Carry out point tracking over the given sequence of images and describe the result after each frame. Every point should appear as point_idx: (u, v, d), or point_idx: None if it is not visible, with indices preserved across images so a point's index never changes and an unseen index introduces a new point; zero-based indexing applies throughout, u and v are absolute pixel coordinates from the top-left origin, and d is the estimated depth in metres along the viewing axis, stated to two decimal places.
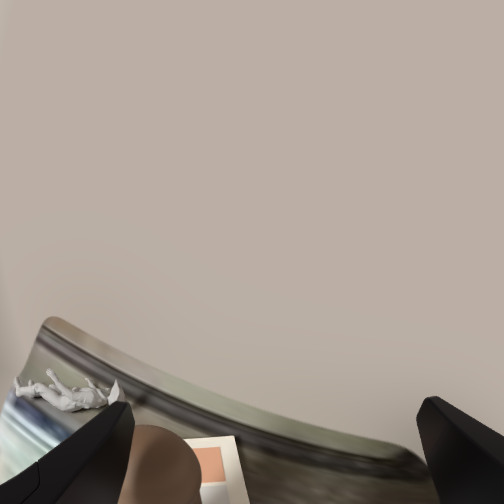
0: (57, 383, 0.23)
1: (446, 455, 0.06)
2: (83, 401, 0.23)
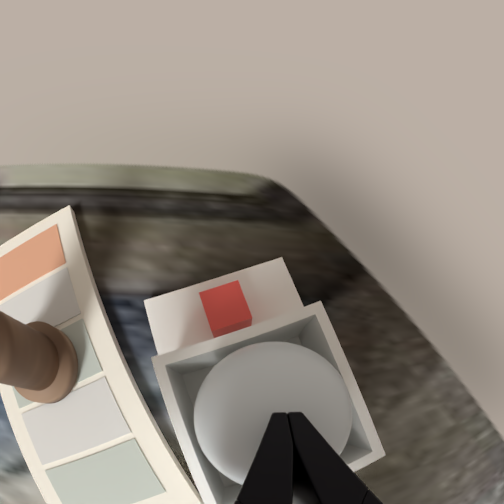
0: None
1: (295, 482, 0.06)
2: None
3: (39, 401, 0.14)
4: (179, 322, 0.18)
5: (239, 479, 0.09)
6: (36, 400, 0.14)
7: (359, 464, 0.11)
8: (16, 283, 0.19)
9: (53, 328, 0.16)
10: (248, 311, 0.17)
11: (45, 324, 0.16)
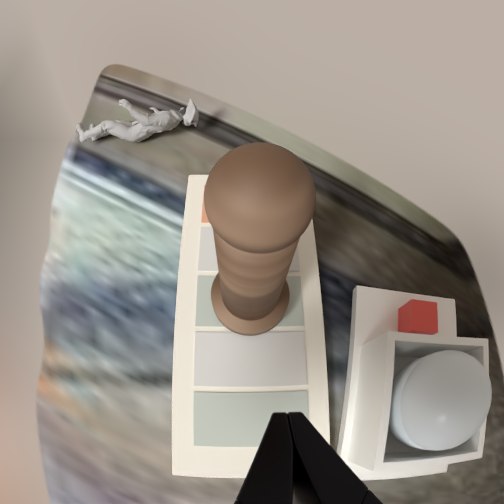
0: (132, 111, 0.25)
1: (295, 482, 0.06)
2: (158, 124, 0.27)
3: (239, 329, 0.19)
4: (378, 314, 0.22)
5: (427, 430, 0.12)
6: (236, 327, 0.19)
7: (468, 457, 0.13)
8: None
9: None
10: (437, 327, 0.19)
11: None
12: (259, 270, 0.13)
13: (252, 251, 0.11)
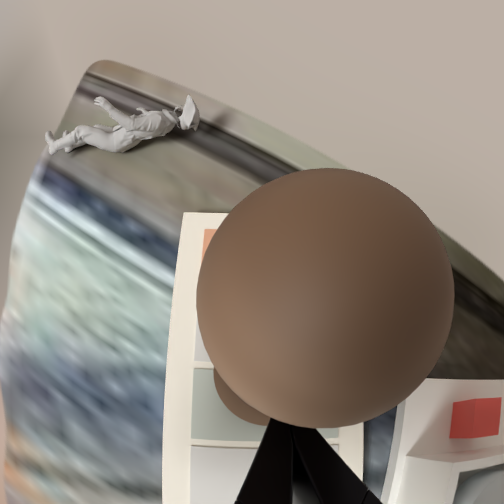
0: (111, 111, 0.18)
1: (295, 482, 0.06)
2: (147, 128, 0.20)
3: (252, 422, 0.13)
4: (430, 412, 0.14)
5: None
6: (248, 419, 0.13)
7: None
8: None
9: None
10: (498, 428, 0.11)
11: None
12: None
13: None
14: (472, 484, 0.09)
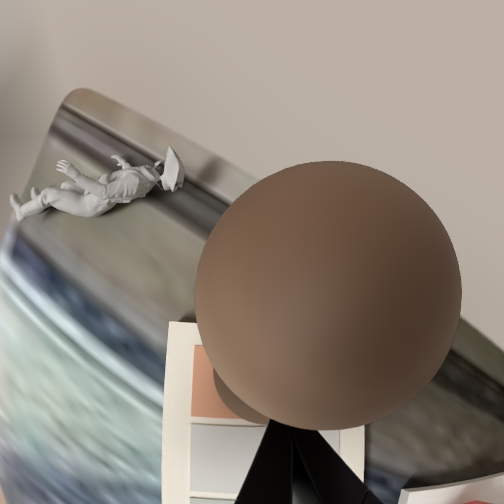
0: (78, 179, 0.15)
1: (295, 482, 0.06)
2: (123, 194, 0.17)
3: (252, 421, 0.13)
4: None
5: None
6: (248, 418, 0.13)
7: None
8: None
9: None
10: None
11: None
12: None
13: None
14: None
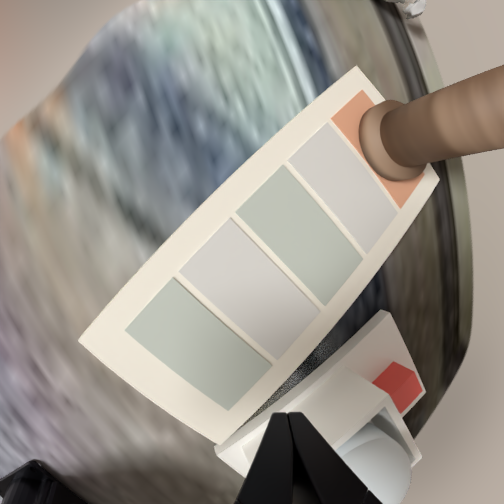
0: None
1: (295, 482, 0.06)
2: None
3: (376, 150, 0.17)
4: (379, 351, 0.19)
5: None
6: (376, 147, 0.16)
7: None
8: None
9: None
10: (404, 409, 0.18)
11: None
12: (498, 127, 0.09)
13: None
14: (372, 428, 0.15)
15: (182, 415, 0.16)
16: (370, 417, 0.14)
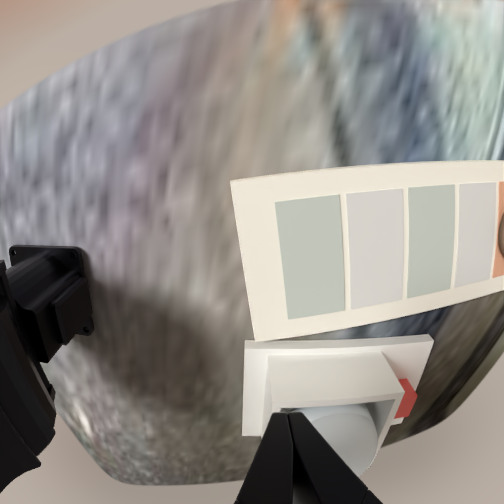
0: None
1: (295, 482, 0.06)
2: None
3: None
4: (406, 362, 0.21)
5: None
6: None
7: None
8: None
9: None
10: None
11: None
12: None
13: None
14: (368, 411, 0.18)
15: (254, 297, 0.19)
16: (382, 399, 0.16)
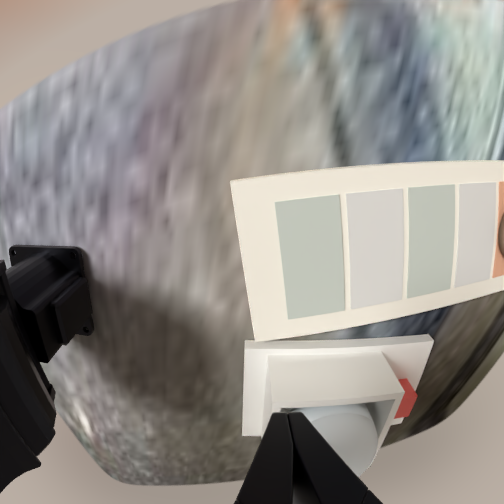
0: None
1: (295, 482, 0.06)
2: None
3: None
4: (406, 362, 0.21)
5: None
6: None
7: None
8: None
9: None
10: None
11: None
12: None
13: None
14: (368, 411, 0.18)
15: (254, 297, 0.19)
16: (382, 399, 0.16)
